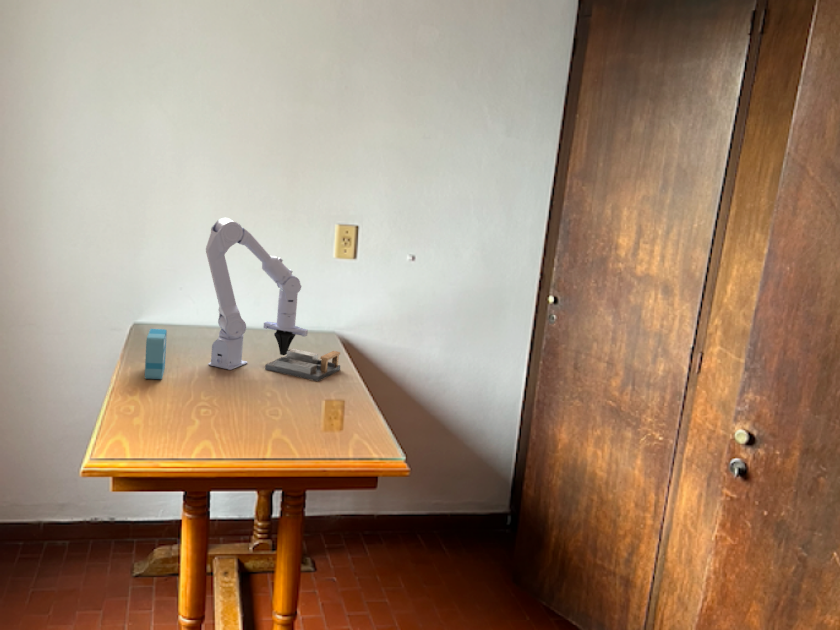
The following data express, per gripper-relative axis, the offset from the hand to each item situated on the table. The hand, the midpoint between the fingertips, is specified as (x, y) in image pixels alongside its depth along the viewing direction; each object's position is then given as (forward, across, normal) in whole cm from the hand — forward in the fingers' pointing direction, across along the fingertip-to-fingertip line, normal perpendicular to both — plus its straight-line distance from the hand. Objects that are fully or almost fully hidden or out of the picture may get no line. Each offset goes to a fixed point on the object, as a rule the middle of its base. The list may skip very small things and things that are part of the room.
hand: (283, 354), depth 245 cm
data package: (+3, +22, +34) cm, 41 cm away
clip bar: (+1, -7, 0) cm, 7 cm away
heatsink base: (+3, -9, +3) cm, 9 cm away
